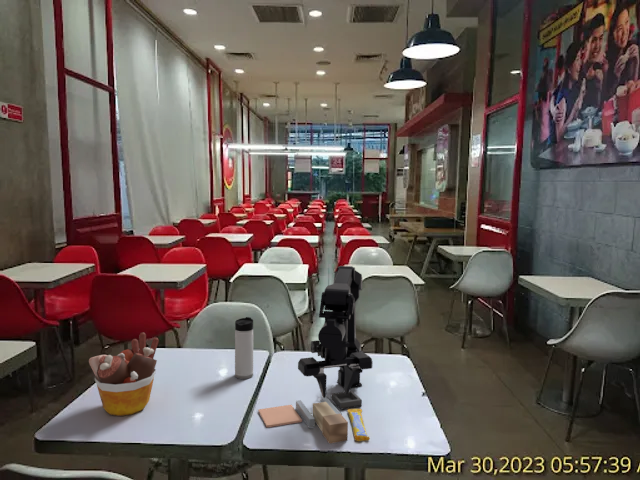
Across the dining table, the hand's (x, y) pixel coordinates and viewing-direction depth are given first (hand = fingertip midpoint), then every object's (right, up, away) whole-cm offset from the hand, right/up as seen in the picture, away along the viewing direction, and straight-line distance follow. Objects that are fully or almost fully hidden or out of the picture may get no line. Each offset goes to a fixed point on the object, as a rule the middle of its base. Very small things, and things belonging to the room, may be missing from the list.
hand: (334, 395), depth 118 cm
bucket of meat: (-60, -9, +16) cm, 63 cm away
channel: (-4, -10, +12) cm, 16 cm away
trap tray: (+4, -9, +21) cm, 23 cm away
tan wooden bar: (-3, -11, +7) cm, 13 cm away
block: (0, -11, +1) cm, 11 cm away
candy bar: (+7, -11, +7) cm, 15 cm away
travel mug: (-30, -7, +41) cm, 51 cm away
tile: (-15, -10, +11) cm, 21 cm away
